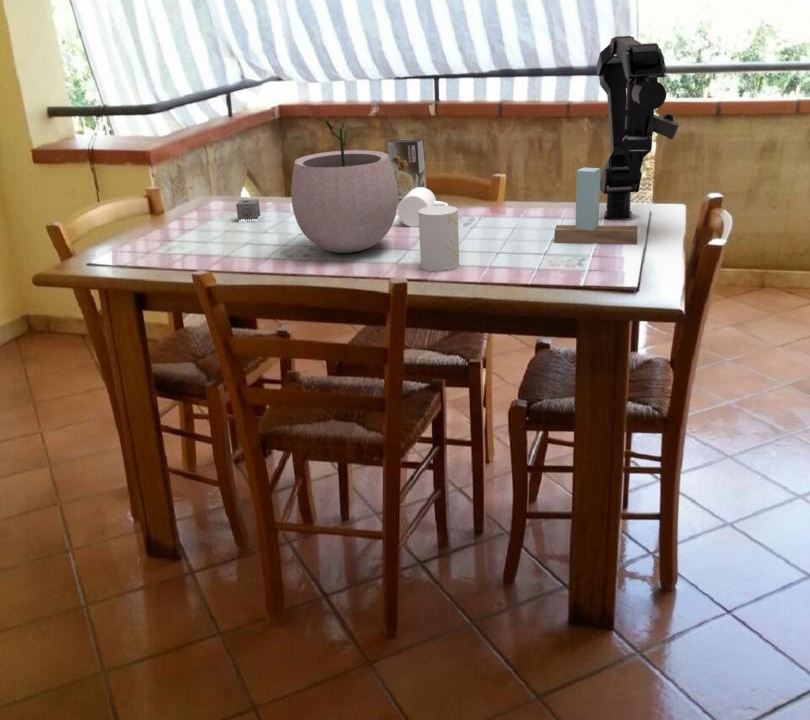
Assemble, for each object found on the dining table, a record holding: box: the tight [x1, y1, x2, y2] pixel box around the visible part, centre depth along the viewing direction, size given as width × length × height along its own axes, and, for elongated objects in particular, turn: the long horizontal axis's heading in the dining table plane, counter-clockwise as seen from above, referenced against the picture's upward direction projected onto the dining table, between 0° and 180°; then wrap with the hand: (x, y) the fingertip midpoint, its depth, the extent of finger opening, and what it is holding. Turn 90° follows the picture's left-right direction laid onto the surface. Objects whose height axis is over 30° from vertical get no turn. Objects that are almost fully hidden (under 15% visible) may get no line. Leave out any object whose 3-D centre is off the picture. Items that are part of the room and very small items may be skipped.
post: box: [574, 167, 601, 231], centre depth 194 cm, size 4×4×13 cm
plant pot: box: [291, 117, 399, 254], centre depth 196 cm, size 24×24×30 cm
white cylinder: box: [418, 205, 460, 272], centre depth 184 cm, size 8×8×12 cm
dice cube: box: [235, 198, 261, 221], centre depth 233 cm, size 5×5×5 cm
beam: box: [553, 224, 639, 245], centre depth 197 cm, size 4×18×3 cm, turn 75°
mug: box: [397, 187, 450, 228], centre depth 220 cm, size 12×10×8 cm
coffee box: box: [387, 138, 427, 200], centre depth 247 cm, size 9×6×16 cm
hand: (635, 175), depth 198 cm, fingers open, 9 cm apart
